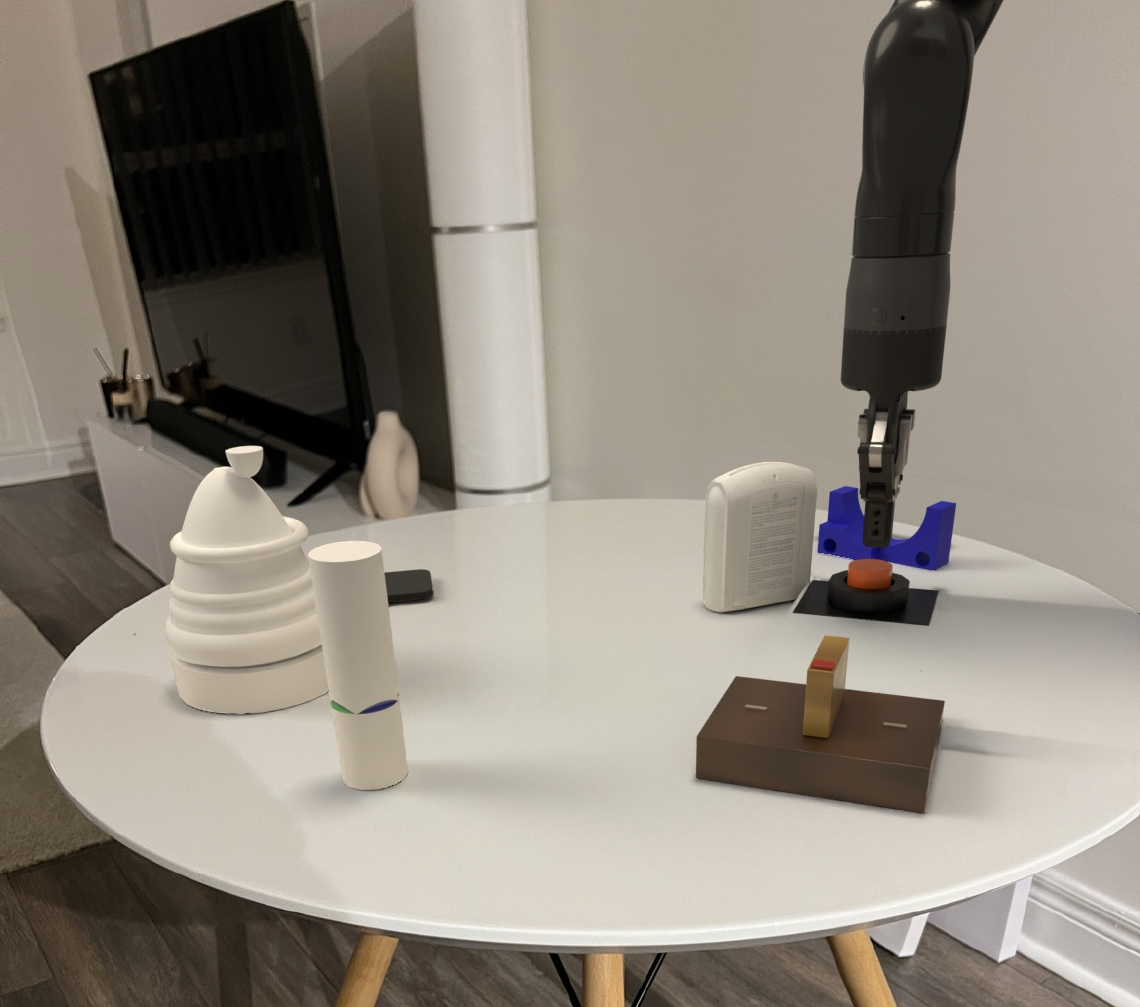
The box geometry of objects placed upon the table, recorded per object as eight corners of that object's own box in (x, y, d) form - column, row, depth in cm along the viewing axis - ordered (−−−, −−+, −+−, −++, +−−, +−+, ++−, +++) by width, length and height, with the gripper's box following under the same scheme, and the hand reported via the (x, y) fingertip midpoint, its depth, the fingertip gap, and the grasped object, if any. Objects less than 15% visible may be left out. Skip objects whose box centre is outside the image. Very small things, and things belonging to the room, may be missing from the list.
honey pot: (370, 655, 89) (341, 432, 81) (295, 721, 78) (252, 471, 70) (234, 645, 92) (192, 430, 84) (143, 706, 81) (85, 466, 73)
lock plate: (939, 741, 72) (945, 698, 70) (924, 813, 63) (930, 766, 62) (734, 714, 76) (735, 673, 75) (695, 778, 68) (696, 733, 67)
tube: (352, 758, 72) (321, 541, 65) (414, 759, 72) (389, 540, 65) (333, 789, 69) (298, 562, 62) (399, 790, 68) (370, 562, 61)
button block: (936, 608, 94) (941, 570, 92) (926, 644, 87) (931, 603, 85) (810, 597, 98) (813, 560, 96) (791, 631, 91) (793, 591, 89)
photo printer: (789, 585, 101) (797, 452, 95) (816, 598, 97) (827, 460, 92) (694, 604, 97) (697, 466, 92) (720, 618, 94) (724, 476, 88)
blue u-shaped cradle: (817, 553, 110) (821, 494, 107) (840, 543, 112) (845, 485, 110) (926, 575, 102) (934, 512, 99) (948, 564, 105) (956, 503, 102)
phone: (276, 582, 105) (429, 567, 107) (277, 590, 105) (430, 576, 107) (269, 606, 98) (433, 591, 100) (271, 615, 99) (434, 599, 100)
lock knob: (819, 697, 71) (824, 631, 69) (844, 700, 71) (849, 633, 69) (802, 735, 66) (807, 665, 64) (828, 738, 66) (834, 668, 64)
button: (893, 580, 92) (895, 560, 91) (887, 593, 89) (889, 573, 88) (850, 576, 93) (852, 557, 92) (843, 589, 90) (845, 569, 89)
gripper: (939, 330, 74) (915, 571, 82) (953, 311, 85) (931, 526, 93) (830, 331, 77) (816, 565, 85) (857, 313, 88) (843, 522, 96)
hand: (876, 544), depth 89 cm, fingers closed
